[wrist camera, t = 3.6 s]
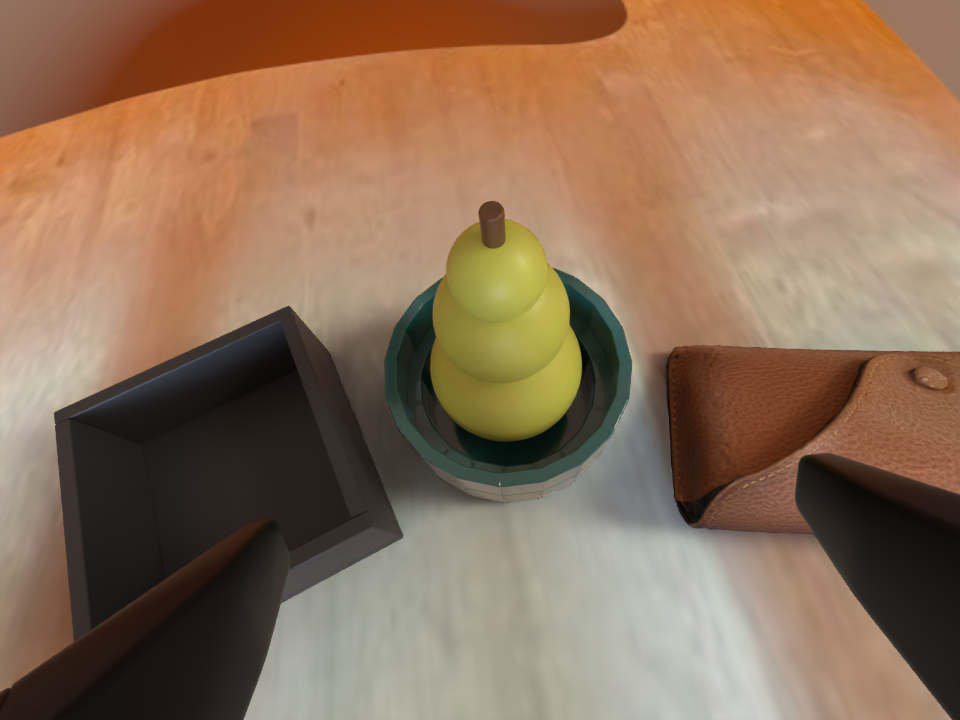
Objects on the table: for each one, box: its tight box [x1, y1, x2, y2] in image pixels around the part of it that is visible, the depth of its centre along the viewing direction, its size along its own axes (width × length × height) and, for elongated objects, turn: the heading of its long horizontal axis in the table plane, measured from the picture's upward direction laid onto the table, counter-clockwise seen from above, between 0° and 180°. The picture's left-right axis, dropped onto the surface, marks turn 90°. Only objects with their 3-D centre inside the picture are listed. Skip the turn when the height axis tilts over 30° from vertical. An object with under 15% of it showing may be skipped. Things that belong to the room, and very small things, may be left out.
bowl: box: [384, 268, 632, 502], centre depth 20 cm, size 10×10×4 cm
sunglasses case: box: [666, 345, 960, 534], centre depth 19 cm, size 18×7×7 cm, turn 88°
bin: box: [54, 306, 403, 642], centre depth 20 cm, size 10×10×5 cm
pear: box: [430, 201, 582, 442], centre depth 16 cm, size 6×6×12 cm
